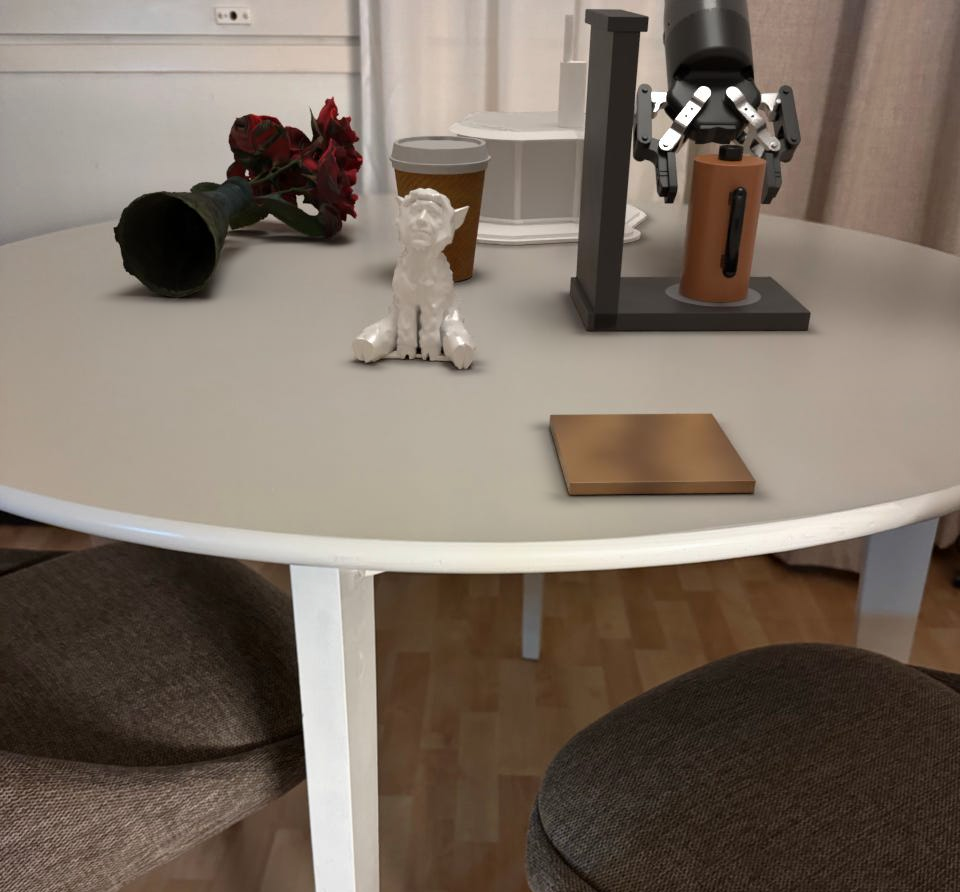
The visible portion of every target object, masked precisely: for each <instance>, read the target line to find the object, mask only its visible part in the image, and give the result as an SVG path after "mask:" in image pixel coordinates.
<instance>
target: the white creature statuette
mask: <svg viewBox="0 0 960 892" xmlns="http://www.w3.org/2000/svg"><path fill="white" fill-rule="evenodd" d="M395 201H396V203H397V204H398V210H399V213H398V216H396V218H395V219H394V225H395V226H397V233H398V237H397V238H398V239H397V240H398V241H399V242H401V244H402V245H403V246H404V248H405V247H406V248H405V249H404V250H403V252H402V253H401V256H399V257H398V258H397V259H396V266H395V268H394V270H393V276H392V281H391V290H392V292H393V296H392V298H393V302H392V303H391V304H390V305H388V309H387V310H388V312H387V314H386V316H385V317H383V318H382V319H380V320H378V321H376V322H374V323H372V324H370V325H369V324H368V326H366V327H365V328H363V329H362V331H361V333H360V334H358V335H357V337H355V338H354V339H353V341H352V343H351V349H352V352H353V355H354V357H355V358H356V359H357V360H358V361H362V362H365V364H368V363H371V362H372V363H375V362H377V361H379V360H382V359H401V360H404V359H406V356H408V358H409V360H413V359H415V358H418V359H419V358H420V359H422V360H423V361H427V359H428V358H429V361H431V362H434V361H442V362H452V363H453V364H454V366H455V368H457V369H458V370H462V369H465V370H467V369H468V368H469V367H470V366H471V364H472V362H473V361H474V358H475V351H476V348H477V345H476V343H475V341H473V335H471V334H470V333H469V331H468V330H467V327H466V324H465V318H464V315H463V314H462V311H461V307H460V304H459V301H458V299H457V296H456V293H455V290H454V288H455V286H454V283H455V281H454V282H453V280H452V279H453V277H452V274H453V273H452V271H451V270H450V264H449V262H448V261H447V259H446V256H445V255H444V254H443V253H442V252H441V251H442V250H444V248H445V246H447V245H448V244H451V243H452V240H453V237H454V232H455V230H456V229H458V228H459V227H460V226H461V225H462V224H463V222H464V220H465V217H466V214H467V211H468V209H469V207H470V206H466V207H463V208H459V209H456V210H454V209H453V207H451V204H450V200H449V199H448V198H447V197H446V196H445V195H442V194H440V193H438V192H437V191H435V190H433V189H430V188H427V189H422V188H418V189H416V190H413V191H410V193H409V195H406V196H405V197H404V198H402V197H400V196H398V195H395ZM417 350H420V353H417ZM442 352H443V353H442Z"/></svg>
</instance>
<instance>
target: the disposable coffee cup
mask: <svg viewBox="0 0 960 892" xmlns="http://www.w3.org/2000/svg"><path fill="white" fill-rule="evenodd" d="M388 159H389V161H390V162H391V167H392V168H393V170H394V177H395V185H396V191H397V196H400V197H402V198H404V197H405V196H406V195H409V193H410V191H413V190H416V189H418V188H422V189H427V188H430V189H433V190H435V191H437V192H438V193H440V194H442V195H445V196H446V197H447V198H448V199H449V200H450V204H451V207H453V209H454V210H456V209H459V208H463V207H466V206H470V207H469V209H468V211H467V214H466V217H465V220H464V222H463V224H462V225H461V226H460V227H459V228H458V229H456V230H455V232H454V237H453V240H452V243H451V244H448V245H447V246H445V248H444V250H442V251H441V252H442V253H443V254H444V255H445V256H446V259H447V261H448V262H449V264H450V270H451V271H452V273H453V274H452V277H453V279H452V280H453V282H454V283H455V282H460V281H464V280H467V279H470V278H471V277H472V276H473V271H474V265H475V257H476V256H475V255H476V248H477V242H476V241H477V234H478V226H479V217H480V210H481V202H482V194H483V187H484V179H485V169H487V168H488V162H489V161H490V159H491V157H490V156H489V155H488V153H487V147H486V142H485V141H483V140H479V139H476V138H469V137H458V136H457V135H455V136H454V135H417V136H407V137H401V138H397V139H395V140H394V141H393V144H392V150H391V154H389V156H388ZM404 248H405V249H406V247H405V246H404Z"/></svg>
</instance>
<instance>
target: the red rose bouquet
mask: <svg viewBox="0 0 960 892" xmlns="http://www.w3.org/2000/svg"><path fill="white" fill-rule="evenodd" d="M308 107H309V112H310V129H311V134H312V138H311V139H310V138H309V136H308V135H306V133H305V132H304V131H303V130H301V129H300V128H297V127H295V126H294V127H293V126H290V125H286V126H284V125H283V123H282V122H281V121H280V120H279V118H278V117H276V116H271V115H267V114H261V115H257V114H254V113H248V114H244V115H242V116H240V117H235V120H234V121H233V123H232V125H231V128H230V132H229V134H228V139H227V140H228V144H229V148H230V151H231V153H232V154H233V160H234V161H233V162H232V163H231V164H230V165H229V166H228V167H227V168H226V169H227V170H226V172H225V175H226V180H224V181H223V182H222V183H216V182H211V181H201V182H198V183H197V184H194V185H192V187H191V188H190V189H189V191H166V190H161V191H155V192H149V193H143V194H142V195H140V196H138V197H136V198H135V199H133V200H132V201H131V202H130V203H129V204H128V205H127V206H125V207H124V208H123V210H122V211H121V214H120V218H119V220H118V224H117V226H114V227H113V233H114V240H115V242H116V243H118V245H119V249H120V255H121V259H122V266H123V269H124V270H125V272H126V273H128V274H129V276H133V277H135V278H136V279H137V280H138V281H139V282H140V283H141V285H143V286H144V287H146V288H147V289H148V290H149V291H151V292H154V293H156V294H159V295H164V296H165V297H170V298H178V299H179V298H183V297H187V296H189V295H192V294H194V293H196V292H198V291H200V290H202V289H204V287H205V286H206V285H207V284H208V283H209V282H210V280H211V278H212V277H213V276H214V273H215V270H216V268H217V266H218V263H219V259H220V257H221V256H220V254H221V252H222V250H223V247H224V245H225V241H226V239H227V235H228V231H229V228H230V229H231V230H232V231H235V230H238V229H244V228H245V227H251V226H253V225H255V224H257V223H259V222H260V221H264V220H265V219H266V218H268V217H269V215H271V216H273V218H275V219H276V220H278V221H280V222H282V223H284V224H285V225H286V226H287V227H289V228H291V229H293V230H294V231H297V232H299V233H301V234H303V235H306V236H308V237H314V238H322V237H323V238H324V239H326V240H330V238H333V237H334V236H336V235H337V234H339V233H340V231H341V230H342V228H343V225H344V223H343V222H345V223H346V222H347V218H348V215H349V216H350V217H352V218H353V219H355V220H356V219H357V217H358V214H357V212H356V210H355V207H356V206H355V205H356V202H357V201H358V200H359V194H357V193H353V192H354V191H355V190H354V189H353V187H354V186H356V185H357V181H358V180H357V179H358V178H357V177H358V176H357V175H358V174H359V171H360V169H361V168H362V166H363V163H364V159H363V155H362V154H361V153H360V152H359V151H357V150H356V147H355V145H354V144H355V143H357V142H359V141H360V137H359V136H358V135H357V133H356V131H355V130H353V129H352V127H351V122H352V117H351V115H349V116H342V117H341V118H340V119H339V118H338V116H339V115H340V113H339V108H338V106H337V104H336V102H335V97H334V96H333V95H332V97H331V98H329V97H328V98H326V99H325V101H324V105H323V106H322V107H321V109H320V111H319V113H318V117H317V118H315V116H314V114H313V111H312V109H311V107H310V105H308ZM247 171H248V174H247V175H246V173H247ZM300 196H303V200H302V204H303V205H304V204H306V205H311V206H312V207H313V208H314V209H316V211H317V214H314V215H313V214H309V213H307V212H306V211H304V209H302V208H300V207H299V204H298V200H297V199H298V198H297V197H300Z"/></svg>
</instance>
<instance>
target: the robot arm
mask: <svg viewBox="0 0 960 892" xmlns="http://www.w3.org/2000/svg"><path fill="white" fill-rule="evenodd" d="M663 3H664V4H663V5H664V7H663V16H662V17H663V20H662V23H663V28H662V29H663V32H662V44H663V47H664V53H665V55H664V56H665V67H666V68H665V69H666V70H665V71H666V82H667V92H662V91H661V92H660V91H653V88H652V86H651V85H649V84H648V83H641V84H640V85H638V88H637V90H636V94H635V106H634V118H633V131H632V158H633V160H634V161H636V162H640V163H641V162H644V161H648V162H650V163H652V164H653V166H654V170H655V181H656V182H655V185H656V193H657V195H658V197H659V198H663V201H664V204H667V205H668V204H669V205H670V204H671V205H672V204H674V203H675V200H676V197H677V194H678V188H679V185H678V171H677V157H676V155H677V154H678V153H679V152H680V151H681V150H682V148H683V147H684V145H686V143H687V142H688V141H689V140H690V141H693V142H694V145H705V144H710V143H711V144H712V143H714V144H718V145H731V142H732V143H733V145H739V146H743V147H744V150H743V155H749V156H753V157H758V158H762V159H764V160H766V162H767V163H766V170H765V177H764V184H763V191H762V198H761V204H760V205H771V204H772V201H773V199H776V197H777V195H778V193H779V192H780V189H781V187H782V184H783V177H782V169H781V168H782V167H781V163H785V164H787V163H790V162H791V161H792V159H793V157H794V154H795V152H796V150H797V148H798V146H799V145H800V143H801V141H802V138H801V130H800V124H799V119H798V114H797V108H796V103H795V96H794V90H793V88H792V87H791V86H790V85H788V84H787V85H786V84H784V85H781V86H780V87H779V89H778V91H777V92H764V93H761V91H760V90H759V88H758V87H757V84H756V82H755V68H754V67H755V66H754V65H755V64H754V56H753V45H752V44H753V43H752V37H751V24H750V14H749V13H750V12H749V5H748V0H663ZM660 110H663V111H664V113H665V114H666V115H667V116H668V118H669V119H670V120H671V121H672V123H671V126H670V127H669V128H668V130H667V131H666V132H665V134H664V135H663V136H662V137H661V139H658V138H655V137H653V123H652V122H653V120H654V119H656V118H657V116H658V113H659V111H660ZM758 110H760V111H762V112H764V113H765V115H766V117H767V121H766V120H765V118H764V117H763V116H762V115H761V114H760V113H759V111H758ZM767 122H769V123H772V125H773V132H774V133H772V131H770V130H769V128H768V126H767ZM746 128H748V132H745V130H746Z"/></svg>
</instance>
